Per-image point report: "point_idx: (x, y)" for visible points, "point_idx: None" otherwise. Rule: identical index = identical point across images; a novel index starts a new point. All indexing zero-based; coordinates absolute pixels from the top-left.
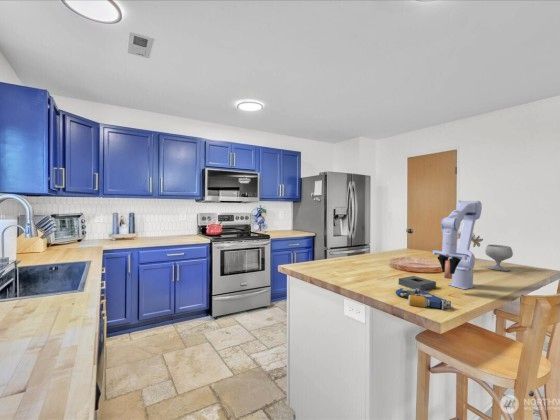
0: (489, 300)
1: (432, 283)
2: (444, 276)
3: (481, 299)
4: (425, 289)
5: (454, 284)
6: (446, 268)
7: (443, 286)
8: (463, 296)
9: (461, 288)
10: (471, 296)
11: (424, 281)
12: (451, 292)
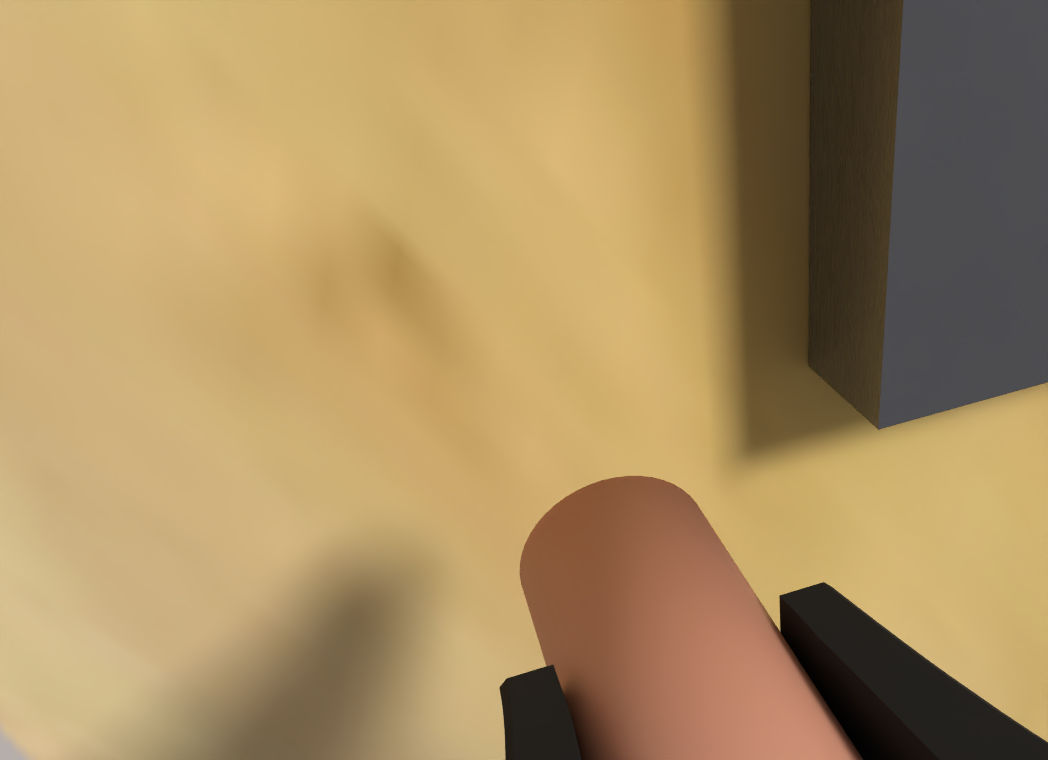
0: (29, 724)
1: (872, 303)
2: (698, 512)
3: (87, 649)
4: (819, 15)
5: None
6: (748, 745)
7: (802, 548)
8: (279, 484)
9: None
10: (258, 608)
11: (1028, 188)
12: (522, 446)
